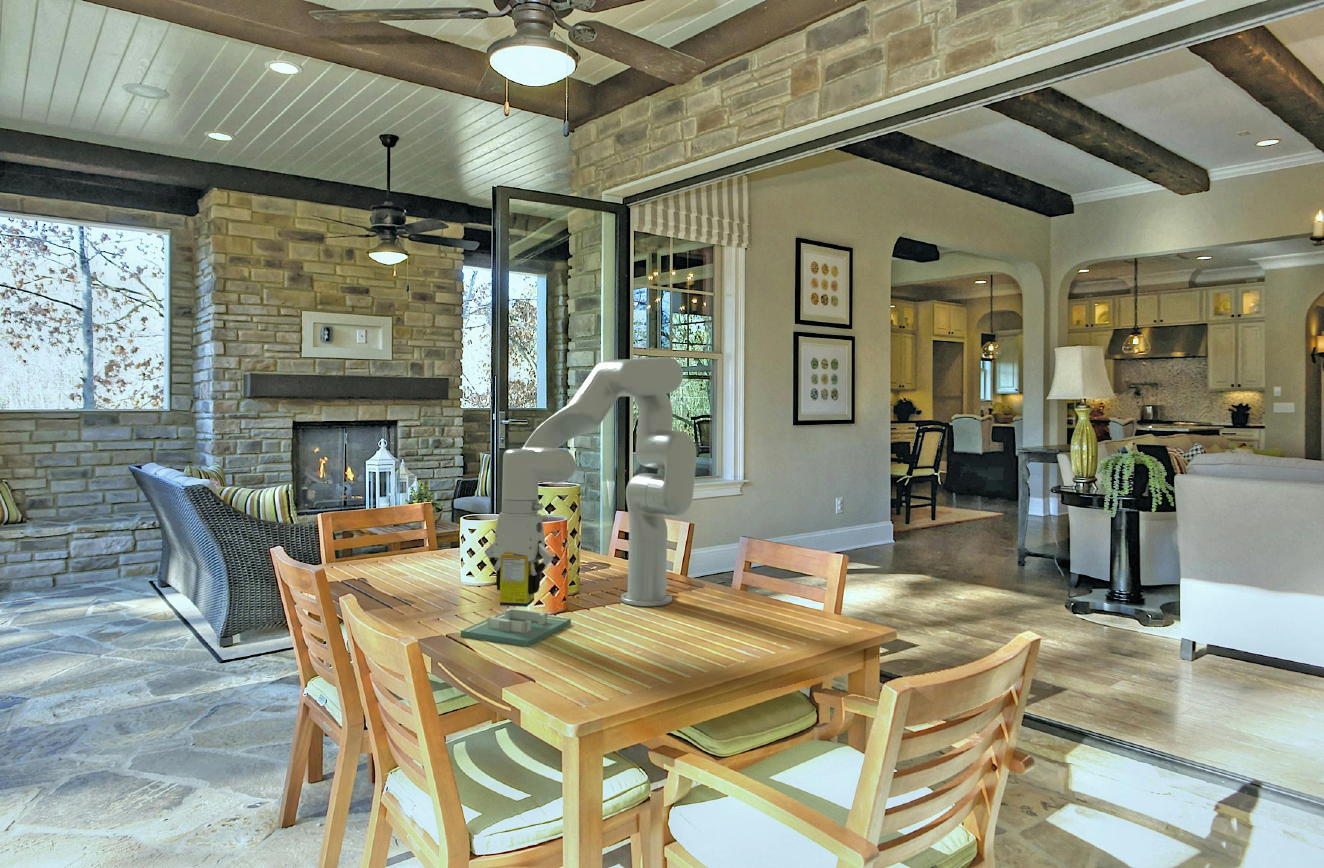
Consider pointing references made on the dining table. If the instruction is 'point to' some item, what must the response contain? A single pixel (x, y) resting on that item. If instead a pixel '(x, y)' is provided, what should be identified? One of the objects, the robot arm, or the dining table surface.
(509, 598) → the supplement box
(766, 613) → the dining table surface
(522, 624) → the board
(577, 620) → the dining table surface
